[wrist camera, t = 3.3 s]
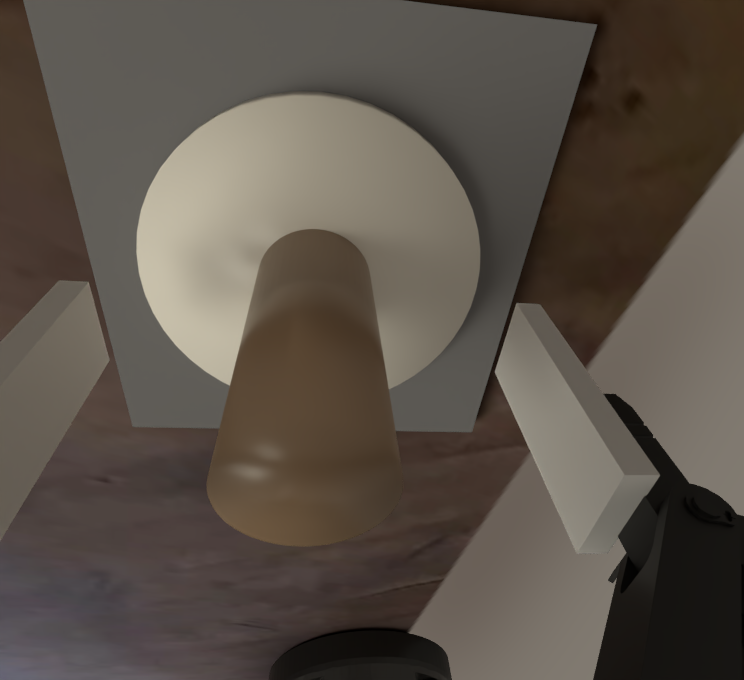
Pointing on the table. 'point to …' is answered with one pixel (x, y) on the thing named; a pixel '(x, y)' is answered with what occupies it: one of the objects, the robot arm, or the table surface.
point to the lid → (307, 299)
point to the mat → (319, 74)
